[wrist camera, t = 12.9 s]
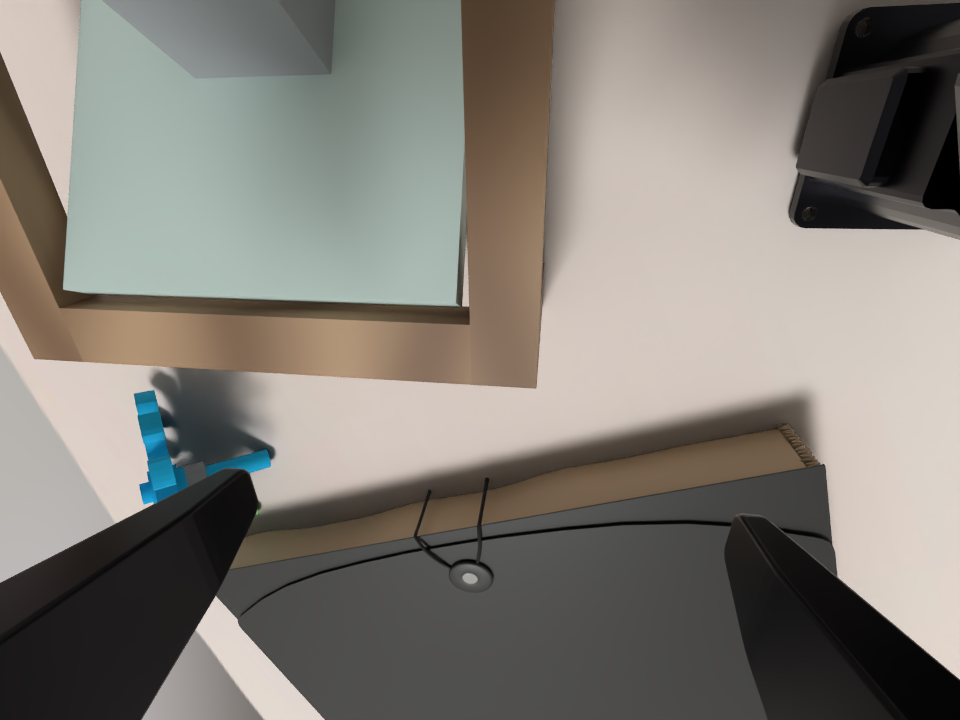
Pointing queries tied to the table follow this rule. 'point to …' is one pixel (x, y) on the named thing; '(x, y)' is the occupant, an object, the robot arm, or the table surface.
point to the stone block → (237, 34)
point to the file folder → (535, 591)
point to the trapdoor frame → (309, 325)
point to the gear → (161, 470)
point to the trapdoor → (273, 167)
